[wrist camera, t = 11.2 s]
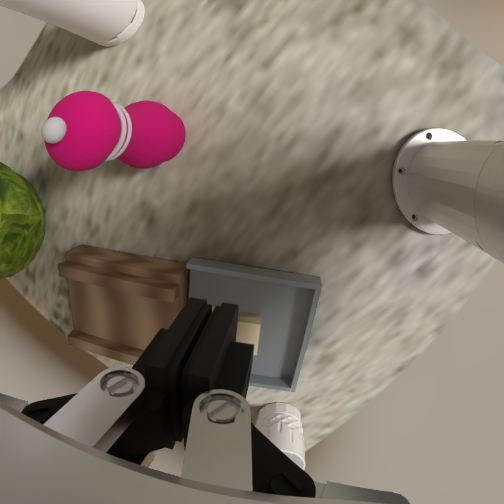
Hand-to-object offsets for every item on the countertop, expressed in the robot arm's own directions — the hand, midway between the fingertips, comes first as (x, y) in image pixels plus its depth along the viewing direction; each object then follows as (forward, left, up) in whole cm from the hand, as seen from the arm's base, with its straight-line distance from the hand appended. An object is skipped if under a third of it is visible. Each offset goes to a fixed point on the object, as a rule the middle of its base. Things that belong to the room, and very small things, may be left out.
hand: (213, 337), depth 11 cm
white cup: (-7, +31, -27) cm, 41 cm away
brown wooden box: (+16, +15, -26) cm, 34 cm away
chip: (+1, +15, -23) cm, 28 cm away
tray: (0, +15, -26) cm, 30 cm away
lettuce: (+40, +3, -27) cm, 48 cm away
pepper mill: (+13, -7, -27) cm, 31 cm away
